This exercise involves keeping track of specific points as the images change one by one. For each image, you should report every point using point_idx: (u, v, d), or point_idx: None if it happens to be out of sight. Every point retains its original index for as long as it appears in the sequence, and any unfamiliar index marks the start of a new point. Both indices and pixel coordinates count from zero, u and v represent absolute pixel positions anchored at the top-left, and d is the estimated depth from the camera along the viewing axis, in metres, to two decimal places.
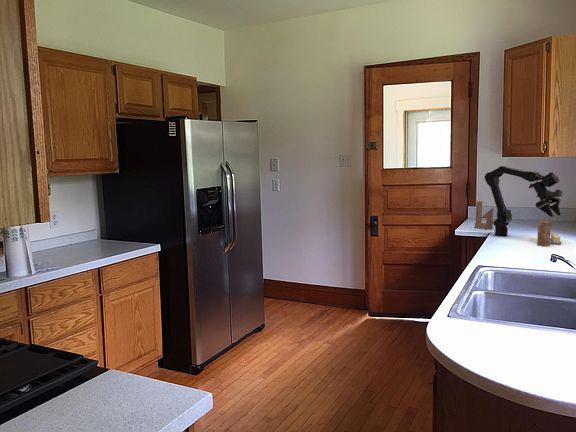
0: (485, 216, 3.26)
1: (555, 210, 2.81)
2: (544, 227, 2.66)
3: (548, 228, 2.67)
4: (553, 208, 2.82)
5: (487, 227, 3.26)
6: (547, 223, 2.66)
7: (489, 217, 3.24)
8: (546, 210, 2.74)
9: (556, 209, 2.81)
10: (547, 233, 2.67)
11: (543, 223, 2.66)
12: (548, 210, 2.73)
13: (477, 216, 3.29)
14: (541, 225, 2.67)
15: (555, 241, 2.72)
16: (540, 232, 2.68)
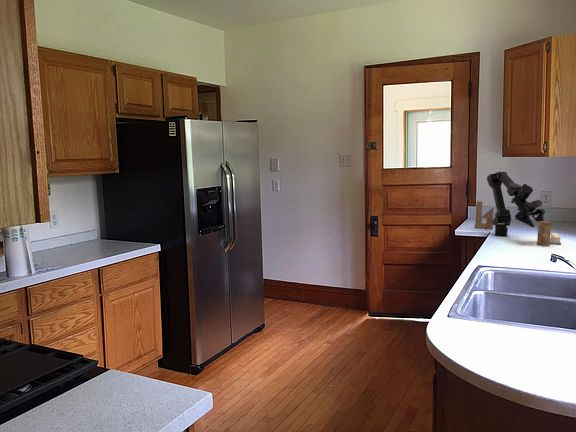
0: (485, 216, 3.26)
1: None
2: (544, 227, 2.66)
3: (548, 228, 2.67)
4: (538, 219, 2.77)
5: (487, 227, 3.26)
6: (547, 223, 2.66)
7: (489, 217, 3.24)
8: (526, 221, 2.71)
9: (540, 220, 2.75)
10: (547, 233, 2.67)
11: (543, 223, 2.66)
12: (528, 221, 2.70)
13: (477, 216, 3.29)
14: (541, 225, 2.67)
15: (555, 241, 2.72)
16: (540, 232, 2.68)
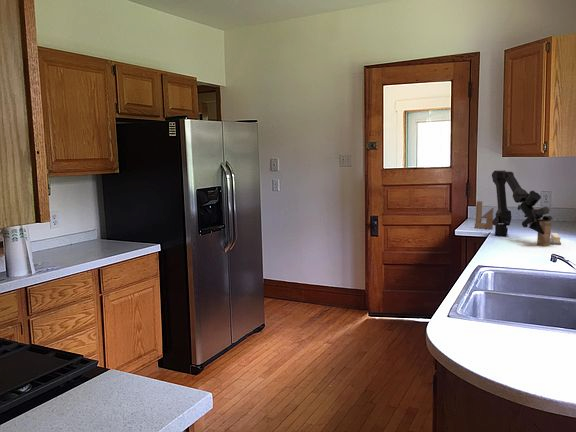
0: (485, 216, 3.26)
1: None
2: (544, 227, 2.66)
3: (548, 228, 2.67)
4: None
5: (487, 227, 3.26)
6: (547, 223, 2.66)
7: (489, 217, 3.24)
8: (536, 228, 2.68)
9: None
10: (547, 233, 2.67)
11: (543, 223, 2.66)
12: (538, 228, 2.67)
13: (477, 216, 3.29)
14: (541, 225, 2.67)
15: (555, 241, 2.72)
16: None
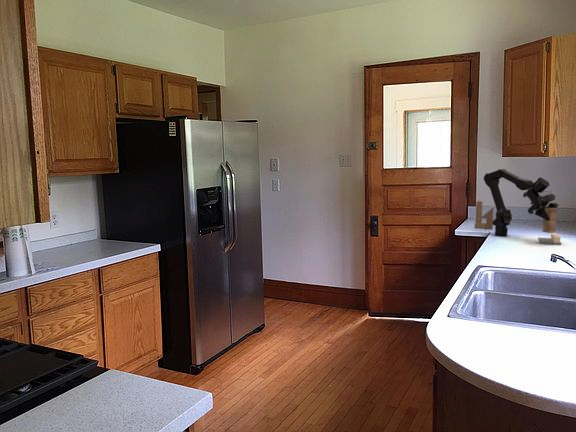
0: (485, 216, 3.26)
1: None
2: (550, 214, 2.69)
3: (554, 215, 2.70)
4: None
5: (487, 227, 3.26)
6: (553, 210, 2.69)
7: (489, 217, 3.24)
8: (542, 215, 2.72)
9: None
10: (553, 220, 2.70)
11: (549, 210, 2.69)
12: (544, 214, 2.71)
13: (477, 216, 3.29)
14: (547, 212, 2.71)
15: (555, 241, 2.72)
16: None
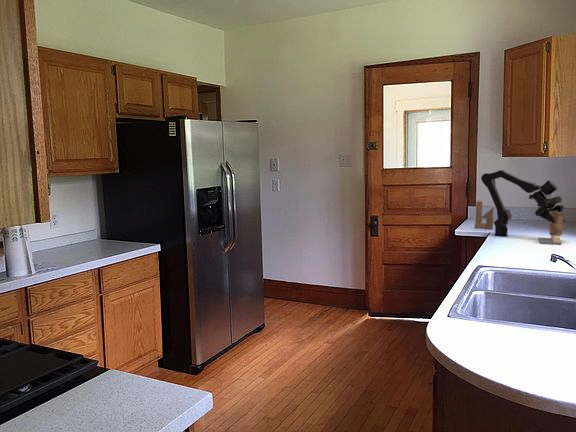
0: (485, 216, 3.26)
1: None
2: (557, 217, 2.75)
3: (561, 218, 2.75)
4: None
5: (487, 227, 3.26)
6: (559, 213, 2.74)
7: (489, 217, 3.24)
8: (547, 217, 2.76)
9: None
10: (560, 223, 2.75)
11: (556, 213, 2.75)
12: (549, 217, 2.75)
13: (477, 216, 3.29)
14: (554, 215, 2.76)
15: (555, 241, 2.72)
16: None
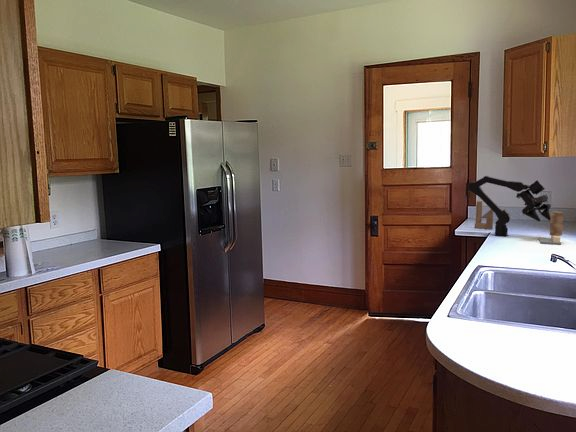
0: (485, 216, 3.26)
1: (546, 216, 2.88)
2: (557, 217, 2.75)
3: (561, 218, 2.75)
4: (544, 214, 2.89)
5: (487, 227, 3.26)
6: (559, 213, 2.74)
7: (489, 217, 3.24)
8: (533, 215, 2.83)
9: (546, 215, 2.88)
10: (560, 223, 2.75)
11: (556, 213, 2.75)
12: (534, 215, 2.82)
13: (477, 216, 3.29)
14: (554, 215, 2.76)
15: (555, 241, 2.72)
16: (552, 222, 2.77)
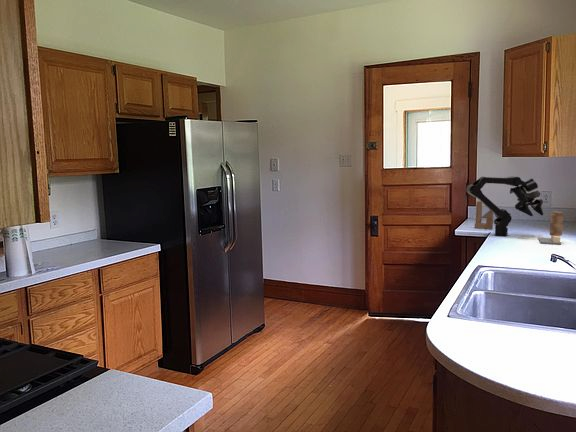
0: (485, 216, 3.26)
1: (538, 211, 2.93)
2: (557, 217, 2.75)
3: (561, 218, 2.75)
4: (536, 209, 2.94)
5: (487, 227, 3.26)
6: (559, 213, 2.74)
7: (489, 217, 3.24)
8: (525, 211, 2.89)
9: (539, 210, 2.93)
10: (560, 223, 2.75)
11: (556, 213, 2.75)
12: (527, 210, 2.88)
13: (477, 216, 3.29)
14: (554, 215, 2.76)
15: (555, 241, 2.72)
16: (552, 222, 2.77)
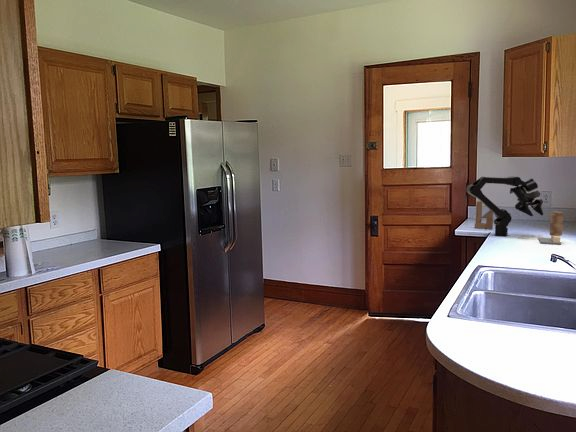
0: (485, 216, 3.26)
1: (538, 211, 2.93)
2: (557, 217, 2.75)
3: (561, 218, 2.75)
4: (536, 209, 2.94)
5: (487, 227, 3.26)
6: (559, 213, 2.74)
7: (489, 217, 3.24)
8: (526, 211, 2.89)
9: (539, 210, 2.93)
10: (560, 223, 2.75)
11: (556, 213, 2.75)
12: (527, 210, 2.88)
13: (477, 216, 3.29)
14: (554, 215, 2.76)
15: (555, 241, 2.72)
16: (552, 222, 2.77)
